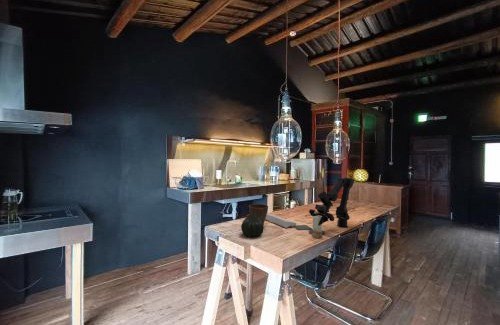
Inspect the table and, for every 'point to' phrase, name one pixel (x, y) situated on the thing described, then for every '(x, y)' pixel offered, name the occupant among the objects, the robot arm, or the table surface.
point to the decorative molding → (279, 221)
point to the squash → (252, 226)
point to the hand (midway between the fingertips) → (316, 224)
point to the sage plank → (315, 223)
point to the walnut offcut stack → (317, 234)
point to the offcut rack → (312, 232)
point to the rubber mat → (302, 227)
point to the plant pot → (259, 211)
